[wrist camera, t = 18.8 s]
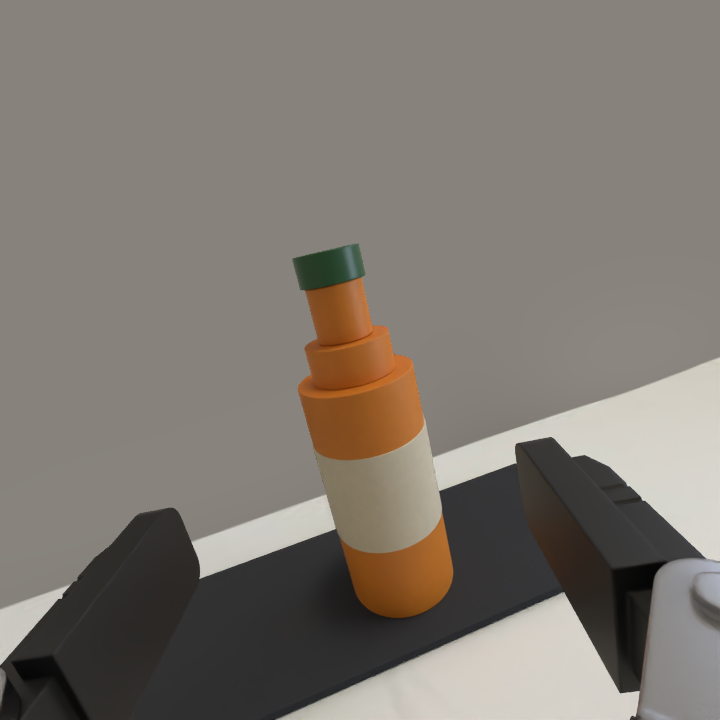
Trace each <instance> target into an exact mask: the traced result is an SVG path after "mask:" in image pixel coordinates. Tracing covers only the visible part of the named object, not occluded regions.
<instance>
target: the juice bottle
mask: <svg viewBox="0 0 720 720" xmlns="http://www.w3.org/2000/svg"><path fill="white" fill-rule="evenodd" d="M293 264H294V268H295V272H296V275H297V279H298V283H299V287H300V290H305V292H306V296H307V300H308V303H309V307H310V311H311V315H312V319H313V322H314V327H315V330H316V334H317V338H318V339H316V340H314V341H312V342H310V343H309V344H307V345H306V347H305V352H306V356H307V360H308V363H309V367H310V371H311V375H309V376H308V377H306V378H305V379H304V380H303V381H302V382H301V383H300V384H299V387H298V392H299V396H300V399H301V403H302V406H303V410H304V413H305V417H306V420H307V424H308V428H309V431H310V435H311V438H312V442H313V449H314V452H315V456H316V460H317V463H318V467H319V470H320V474H321V477H322V481H323V484H324V488H325V491H326V495H327V498H328V502H329V505H330V509H331V512H332V516H333V519H334V523H335V526H336V530H337V533H338V535H339V537H340V540H341V544H342V547H343V551H344V554H345V558H346V561H347V565H348V569H349V572H350V576H351V579H352V583H353V586H354V590H355V593H356V595H357V597H358V599H359V600H360V602H361V603H362V604H363V605H364V606H365V607H366V608H367V609H369V610H370V611H372V612H374V613H376V614H378V615H381V616H385V617H390V618H405V617H411V616H415V615H418V614H421V613H423V612H425V611H427V610H429V609H431V608H432V607H434V606H435V605H436V604H437V603H439V602H440V601H441V600H442V599H443V597H444V596H445V595H446V593H447V592H448V590H449V588H450V586H451V583H452V579H453V565H452V560H451V555H450V550H449V545H448V540H447V535H446V529H445V524H444V519H443V514H442V504H441V499H440V494H439V489H438V484H437V479H436V474H435V468H434V463H433V458H432V453H431V448H430V443H429V438H428V433H427V428H426V423H425V419H424V416H423V413H422V408H421V402H420V397H419V392H418V387H417V382H416V377H415V372H414V367H413V362H412V361H411V360H410V359H409V358H408V357H405V356H402V355H395V354H393V349H392V344H391V340H390V335H389V330H388V328H387V327H385V326H372V323H371V319H370V314H369V309H368V305H367V300H366V296H365V291H364V287H363V282H362V278H361V277H362V276H364V275H365V270H364V266H363V261H362V256H361V252H360V247H359V244H352V245H348V246H343V247H339V248H335V249H330V250H326V251H322V252H318V253H313V254H309V255H305V256H301V257H297V258H293Z"/></svg>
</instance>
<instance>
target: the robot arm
mask: <svg viewBox="0 0 720 720" xmlns="http://www.w3.org/2000/svg"><path fill="white" fill-rule="evenodd" d="M515 454H516V461H517V469H518V476H519V483H520V490H521V498H522V504H523V509H524V513H525V517H526V520H527V523H528V525H529V528H530V530H531V532H532V534H533V536H534V538H535V540H536V542H537V543H538V545H539V547H540V549H541V551H542V552H543V554H544V556H545V558H546V560H547V562H548V563H549V565H550V567H551V569H552V571H553V572H554V574H555V576H556V578H557V580H558V582H559V583H560V585H561V587H562V589H563V591H564V592H565V594H566V596H567V598H568V600H569V601H570V603H571V605H572V607H573V609H574V611H575V612H576V614H577V616H578V618H579V620H580V621H581V623H582V625H583V627H584V629H585V631H586V632H587V634H588V636H589V638H590V640H591V641H592V643H593V645H594V647H595V649H596V650H597V652H598V654H599V656H600V658H601V660H602V661H603V663H604V665H605V667H606V669H607V670H608V672H609V674H610V676H611V678H612V680H613V681H614V683H615V685H616V687H617V689H618V690H619V692H620V693H626V692H634V691H640V694H639V702H638V709H637V714H636V717H634V716H631V718H630V720H720V561H715V560H710V559H706V558H705V557H704V556H703V555H702V554H701V553H700V552H699V551H698V550H696V549H695V548H694V547H693V546H692V545H691V544H690V543H689V542H688V541H687V540H686V539H685V538H684V537H683V536H682V535H681V534H680V533H678V532H677V531H676V530H675V529H674V528H673V527H672V526H671V525H670V524H669V523H668V522H667V521H666V520H665V519H664V518H663V517H662V516H661V515H659V514H658V513H657V512H656V511H655V510H654V509H653V508H652V507H651V506H650V505H649V504H648V503H647V502H646V501H642V499H641V497H640V496H639V495H638V494H637V493H636V492H635V491H634V490H633V489H632V488H631V487H630V486H627V485H626V482H625V481H624V480H622V479H621V478H620V477H619V476H618V475H617V474H616V473H615V472H614V471H613V470H612V469H611V468H610V467H608V466H606V465H604V464H602V463H600V462H598V461H596V460H594V459H592V458H589V457H587V456H585V455H583V456H578V457H572V458H571V456H570V455H569V454H568V453H567V452H566V451H565V450H564V449H563V448H562V447H561V446H560V445H559V444H558V442H557V441H556V440H555V439H554V438H552V437H549V438H543V439H538V440H533V441H527V442H522V443H517V444H516V446H515ZM199 577H200V565H199V560H198V557H197V555H196V552H195V550H194V548H193V545H192V543H191V540H190V538H189V535H188V533H187V531H186V529H185V526H184V523H183V521H182V519H181V516H180V514H179V513H178V512H177V510H176V509H174V508H166V509H161V510H156V511H150V512H145V513H140V514H138V515H137V516H136V517H135V518H134V519H133V520H132V521H131V522H130V523H129V524H128V526H127V527H126V528H125V529H124V530H123V531H122V533H121V534H120V535H119V536H118V538H116V540H115V541H114V542H113V543H112V544H111V545H110V546H109V547H108V548H106V549H105V550H104V551H103V552H101V553H100V554H99V555H98V556H96V557H95V558H94V559H93V561H92V562H91V563H90V564H89V565H88V566H87V568H86V569H85V570H84V571H83V572H82V573H81V574H80V575H79V576H78V580H77V581H75V582H73V583H72V584H71V585H70V587H69V588H68V589H67V590H66V591H65V592H64V593H63V597H62V599H58V600H57V601H56V603H55V604H54V605H53V606H52V607H51V608H50V609H49V611H48V612H47V613H46V614H45V615H44V616H43V617H42V619H41V620H40V621H39V622H38V623H37V624H36V625H35V627H34V628H33V629H32V630H31V631H30V632H29V633H28V635H27V636H26V637H25V638H24V639H23V640H22V641H21V643H20V644H19V645H18V646H17V647H16V648H15V649H14V651H13V652H12V653H11V654H10V655H9V656H8V657H7V658H6V660H5V661H4V662H3V663H2V664H1V665H0V720H131V718H132V716H133V714H134V712H135V710H136V708H137V706H138V704H139V702H140V700H141V698H142V696H143V694H144V692H145V690H146V688H147V686H148V684H149V682H150V680H151V678H152V676H153V674H154V672H155V670H156V668H157V666H158V664H159V662H160V660H161V658H162V656H163V654H164V652H165V650H166V648H167V646H168V644H169V642H170V640H171V638H172V636H173V634H174V632H175V631H176V629H177V627H178V625H179V623H180V621H181V619H182V617H183V615H184V613H185V611H186V609H187V607H188V605H189V603H190V601H191V599H192V597H193V595H194V593H195V591H196V589H197V586H198V583H199Z"/></svg>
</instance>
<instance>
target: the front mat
mask: <svg viewBox="0 0 720 720" xmlns="http://www.w3.org/2000/svg"><path fill="white" fill-rule="evenodd" d="M439 494H440V499H441V504H442V514H443V519H444V524H445V529H446V535H447V540H448V545H449V550H450V555H451V560H452V565H453V579H452V583H451V586H450V588H449V590H448V592H447V593H446V595H445V596H444V597H443V599H442V600H441V601H440V602H439V603H437V604H436V605H435V606H434V607H432V608H431V609H429V610H427V611H425V612H423V613H421V614H418V615H415V616H411V617H405V618H390V617H385V616H381V615H378V614H376V613H374V612H372V611H370V610H369V609H367V608H366V607H365V606H364V605H363V604H362V603H361V602H360V600H359V599H358V597H357V595H356V593H355V590H354V586H353V583H352V579H351V576H350V572H349V569H348V565H347V561H346V558H345V554H344V551H343V547H342V544H341V540H340V537H339V535H338V533H337V530H336V529H335V530H332V531H330V532H327V533H324V534H321V535H319V536H316V537H313V538H310V539H308V540H305V541H302V542H299V543H297V544H294V545H291V546H289V547H286V548H283V549H280V550H278V551H275V552H272V553H269V554H267V555H264V556H261V557H258V558H256V559H253V560H250V561H248V562H245V563H242V564H239V565H237V566H234V567H231V568H228V569H226V570H223V571H220V572H218V573H215V574H212V575H209V576H207V577H204V578H201V579H199V583H198V586H197V589H196V591H195V593H194V595H193V597H192V599H191V601H190V603H189V605H188V607H187V609H186V611H185V613H184V615H183V617H182V619H181V621H180V623H179V625H178V627H177V629H176V631H175V632H174V634H173V636H172V638H171V640H170V642H169V644H168V646H167V648H166V650H165V652H164V654H163V656H162V658H161V660H160V662H159V664H158V666H157V668H156V670H155V672H154V674H153V676H152V678H151V680H150V682H149V684H148V686H147V688H146V690H145V692H144V694H143V696H142V698H141V700H140V702H139V704H138V706H137V708H136V710H135V712H134V714H133V716H132V718H131V720H273V719H276V718H278V717H280V716H282V715H285V714H287V713H289V712H291V711H294V710H296V709H298V708H300V707H303V706H305V705H307V704H309V703H312V702H314V701H316V700H318V699H321V698H323V697H325V696H327V695H330V694H332V693H334V692H336V691H339V690H341V689H343V688H346V687H348V686H350V685H352V684H355V683H357V682H359V681H361V680H364V679H366V678H368V677H370V676H373V675H375V674H377V673H379V672H382V671H384V670H386V669H388V668H391V667H393V666H395V665H397V664H400V663H402V662H404V661H406V660H409V659H411V658H413V657H415V656H418V655H420V654H422V653H424V652H427V651H429V650H431V649H433V648H436V647H438V646H440V645H442V644H445V643H447V642H449V641H451V640H454V639H456V638H458V637H460V636H463V635H465V634H467V633H470V632H472V631H474V630H476V629H479V628H481V627H483V626H485V625H488V624H490V623H492V622H494V621H497V620H499V619H501V618H503V617H506V616H508V615H510V614H512V613H515V612H517V611H519V610H521V609H524V608H526V607H528V606H530V605H533V604H535V603H537V602H539V601H542V600H544V599H546V598H548V597H551V596H553V595H555V594H557V593H560V592H562V591H563V589H562V587H561V585H560V583H559V582H558V580H557V578H556V576H555V574H554V572H553V571H552V569H551V567H550V565H549V563H548V562H547V560H546V558H545V556H544V554H543V552H542V551H541V549H540V547H539V545H538V543H537V542H536V540H535V538H534V536H533V534H532V532H531V530H530V528H529V525H528V523H527V520H526V517H525V513H524V509H523V504H522V498H521V490H520V483H519V476H518V469H517V464H516V463H515V464H513V465H510V466H507V467H504V468H502V469H499V470H496V471H493V472H491V473H488V474H485V475H482V476H480V477H477V478H474V479H472V480H469V481H466V482H463V483H461V484H458V485H455V486H452V487H450V488H447V489H444V490H442V491H439Z"/></svg>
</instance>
